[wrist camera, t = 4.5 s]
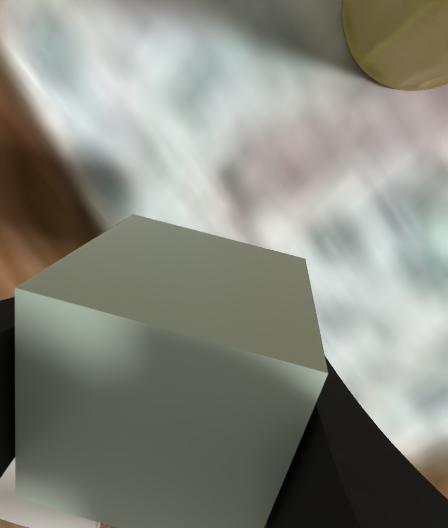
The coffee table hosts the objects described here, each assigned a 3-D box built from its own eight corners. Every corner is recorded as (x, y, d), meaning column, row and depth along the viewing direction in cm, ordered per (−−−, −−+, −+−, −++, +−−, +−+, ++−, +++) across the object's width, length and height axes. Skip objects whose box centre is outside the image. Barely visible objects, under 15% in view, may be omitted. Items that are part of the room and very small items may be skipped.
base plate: (113, 429, 24) (106, 441, 23) (98, 532, 28) (92, 547, 27) (-45, 383, 24) (-57, 394, 23) (-35, 492, 28) (-46, 504, 27)
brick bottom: (305, 258, 10) (328, 373, 5) (259, 395, 12) (247, 566, 7) (133, 214, 10) (14, 287, 6) (115, 355, 12) (15, 497, 8)
